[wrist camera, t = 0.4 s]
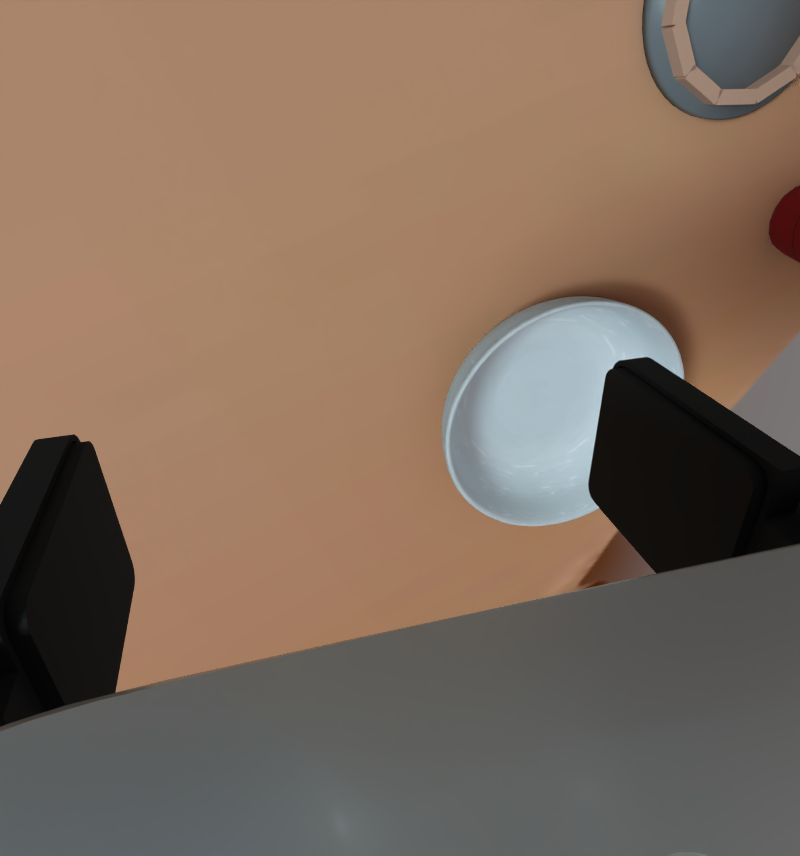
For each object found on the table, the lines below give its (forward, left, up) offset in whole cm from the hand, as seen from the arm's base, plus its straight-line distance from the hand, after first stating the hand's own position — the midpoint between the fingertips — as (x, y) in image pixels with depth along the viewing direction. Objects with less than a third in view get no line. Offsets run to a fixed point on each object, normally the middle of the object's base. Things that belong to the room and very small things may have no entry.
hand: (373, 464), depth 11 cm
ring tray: (+8, +35, -36) cm, 51 cm away
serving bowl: (+27, +10, -36) cm, 46 cm away
